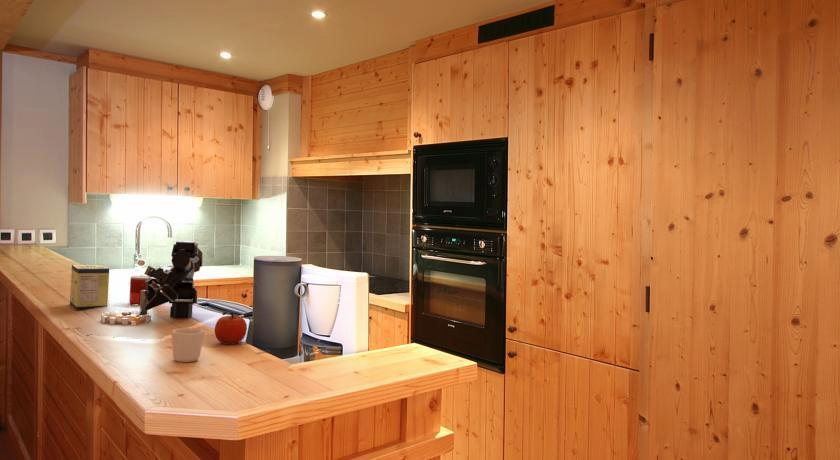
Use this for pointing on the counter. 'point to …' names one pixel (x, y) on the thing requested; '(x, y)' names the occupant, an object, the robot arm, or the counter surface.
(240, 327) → the fruit
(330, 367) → the counter surface
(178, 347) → the cup
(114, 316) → the sprocket
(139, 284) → the canned food
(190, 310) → the robot arm
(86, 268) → the protein box
